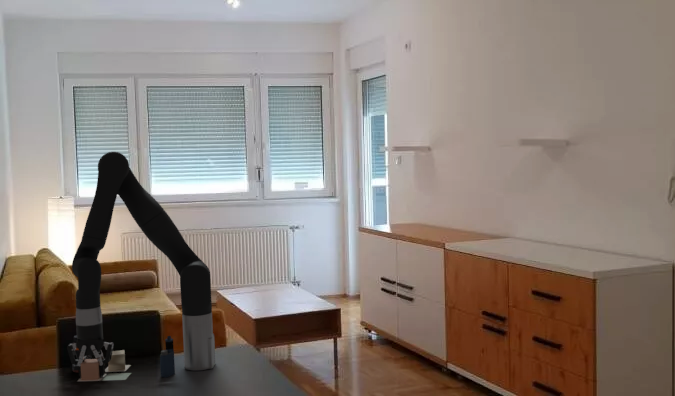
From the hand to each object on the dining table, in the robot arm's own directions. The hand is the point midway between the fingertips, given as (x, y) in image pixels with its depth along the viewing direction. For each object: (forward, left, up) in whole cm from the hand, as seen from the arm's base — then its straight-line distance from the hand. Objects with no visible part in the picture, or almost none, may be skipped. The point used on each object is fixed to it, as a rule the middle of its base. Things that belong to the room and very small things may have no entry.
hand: (92, 376), depth 232 cm
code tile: (0, 0, -1) cm, 1 cm away
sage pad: (-8, 0, -1) cm, 8 cm away
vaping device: (-23, 0, -1) cm, 23 cm away
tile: (-5, -9, -1) cm, 10 cm away
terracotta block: (0, 0, 0) cm, 0 cm away
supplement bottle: (+6, -9, -1) cm, 11 cm away
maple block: (-5, -9, 0) cm, 10 cm away
